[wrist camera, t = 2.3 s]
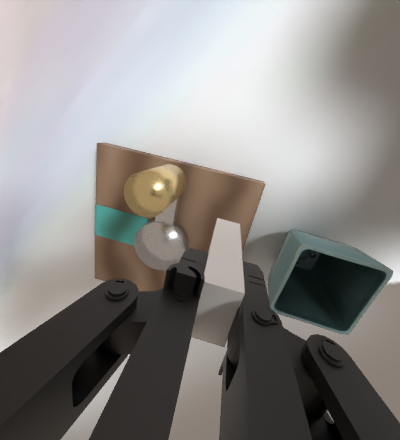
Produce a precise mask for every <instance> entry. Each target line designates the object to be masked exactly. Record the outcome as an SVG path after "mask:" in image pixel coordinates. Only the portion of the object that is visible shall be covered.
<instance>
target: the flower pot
mask: <svg viewBox="0 0 400 440" xmlns="http://www.w3.org/2000/svg"><path fill="white" fill-rule="evenodd" d="M311 254H315V255H314V256H313V257H311ZM297 260H298V262H297ZM296 262H297V263H296ZM392 274H393V271H392V270H391V269H389V268H388V267H386V266H385V265H383V264H381V263H380V262H378V261H376V260H375V259H373V258H371V257H370V256H368V255H366V254H365V253H363V252H361V251H360V250H358V249H356V248H353V247H351V246H348V245H345V244H342V243H339V242H335V241H332V240H328V239H324V238H321V237H317V236H314V235H311V234H307V233H304V232H301V231H297V230H290V231H289V232H288V234H287V236H286V239H285V241H284V243H283V245H282V248H281V250H280V252H279V254H278V256H277V259H276V261H275V263H274V265H273V267H272V269H271V272H270V275H269V304H270V308H271V309H272V310H273V311H274V312H275V313H277V314H280V315H284V316H287V317H290V318H293V319H297V320H300V321H303V322H306V323H309V324H312V325H315V326H318V327H321V328H324V329H327V330H330V331H333V332H336V333H339V334H346V335H348V334H349V333H350V332H351V331H352V330H353V328H354V327H355V326H356V324H357V323H358V322H359V320H360V318H361V317H362V316H363V314H364V313H365V311H366V310H367V309H368V308H369V306H370V305H371V303H372V302H373V301H374V299H375V298H376V297H377V295H378V294H379V292H380V291H381V290H382V288H383V287H384V286H385V285H386V284H387V282H388V281H389V280H390V278H391V277H392Z"/></svg>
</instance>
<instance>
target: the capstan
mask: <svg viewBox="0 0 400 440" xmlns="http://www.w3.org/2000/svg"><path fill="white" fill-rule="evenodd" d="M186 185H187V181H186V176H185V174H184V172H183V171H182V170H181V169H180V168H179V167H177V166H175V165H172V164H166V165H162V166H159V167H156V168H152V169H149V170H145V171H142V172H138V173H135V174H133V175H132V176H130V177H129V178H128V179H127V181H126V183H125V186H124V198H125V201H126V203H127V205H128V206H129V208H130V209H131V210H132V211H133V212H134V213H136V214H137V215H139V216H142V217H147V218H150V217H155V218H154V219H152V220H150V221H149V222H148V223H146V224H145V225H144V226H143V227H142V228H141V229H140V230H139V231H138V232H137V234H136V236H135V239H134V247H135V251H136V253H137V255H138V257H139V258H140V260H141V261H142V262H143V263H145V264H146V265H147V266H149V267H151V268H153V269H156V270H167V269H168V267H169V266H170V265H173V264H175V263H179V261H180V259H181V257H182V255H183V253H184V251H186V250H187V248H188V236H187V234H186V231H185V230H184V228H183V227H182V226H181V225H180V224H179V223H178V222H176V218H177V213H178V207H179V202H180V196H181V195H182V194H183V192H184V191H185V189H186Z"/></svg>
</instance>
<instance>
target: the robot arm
mask: <svg viewBox="0 0 400 440" xmlns="http://www.w3.org/2000/svg"><path fill="white" fill-rule="evenodd" d="M191 337H193V338H196V339H200V340H203V341H206V342H210V343H213V344H216V345H219V346H223V347H224V346H225V344H226V341H227V339H228V345H227V352H226V354H225V357H224V359H223V362H222V364H221V367H220V370H219V374H218V375H222V372H223V380H222V397H221V416H220V434H219V440H400V423H399V422H398V420H397V419H396V418H395V416H394V415H393V414H392V412H391V411H390V410H389V408H388V407H387V406H386V404H385V403H384V402H383V400H382V399H381V397H380V396H379V395H378V394H377V392H376V391H375V389H374V388H373V387H372V385H371V384H370V383H369V381H368V380H367V379H366V377H365V376H364V375H363V373H362V372H361V371H360V369H359V368H358V367H357V365H356V364H355V362H354V361H353V360H352V358H351V357H350V356H349V355H348V354H347V352H346V351H345V350H344V349H343V348H342V347H340V346H339V345H338V344H337V343H336V342H334V341H333V340H331V339H329V338H327V337H325V336H322V335H318V334H316V335H311V336H310V337H309V338H308V340H307V341H305V340H304V339H301V338H300V337H298V336H296V335H295V334H292V333H291V332H289V331H288V330H286V329H285V328H284V327H283V326H282V322H281V320H280V318H279V316H278V315H277V314H276V313H275V312H274V311H273V310H272V309H271V308H270V304H269V299H268V295H267V290H266V287H265V281H264V277H263V272H262V271H261V270H260V268H259V267H258V266H257V265H254V264H250V263H247V262H243V259H242V245H241V230H240V224H239V223H235V222H231V221H227V220H223V219H219V218H217V221H216V225H215V229H214V232H213V236H212V240H211V244H210V247H209V251H208V252H204V251H200V250H197V249H193V248H189V249H187V250H186V251H184V253H183V255H182V257H181V259H180V261H179V263H175V264H173V265H170V266H169V267H168V269H167V271H166V276H165V282H164V287H163V289H160V290H157V291H138V288H137V286H136V284H135V283H133V282H132V281H130V280H127V279H118V278H117V279H112V280H108V281H106V282H104V283H102V284H100V285H99V286H97V287H96V288H94V289H93V290H92V291H90V292H89V293H87V294H86V295H84V296H83V297H81V298H80V299H78V300H77V301H75V302H74V303H72V304H71V305H70V306H68V307H67V308H65V309H64V310H62V311H61V312H59V313H58V314H56V315H55V316H53V317H52V318H50V319H49V320H48V321H46V322H45V323H43V324H42V325H40V326H39V327H37V328H36V329H34V330H33V331H31V332H30V333H28V334H27V335H25V336H24V337H23V338H21V339H20V340H18V341H17V342H15V343H14V344H12V345H11V346H9V347H8V348H6V349H5V350H3V351H2V352H1V353H0V440H60V439H61V438H62V437H63V436H64V434H65V433H66V432H67V431H68V429H69V428H70V427H71V426H72V424H73V423H74V422H75V421H76V419H77V418H78V417H79V416H80V414H81V413H82V412H83V411H84V409H85V408H86V407H87V406H88V404H89V403H90V402H91V401H92V399H93V398H94V397H95V396H96V395H97V393H98V392H99V391H100V389H101V388H102V387H103V386H104V384H105V383H106V382H107V381H108V380H109V378H110V377H111V375H112V374H113V373H114V372H115V371H116V370H117V368H118V367H119V366H120V365H121V363H122V362H123V361H124V359H125V358H126V357H127V356H128V354H131V355H130V357H129V359H128V361H127V363H126V365H125V367H124V369H123V372H122V373H121V376H120V377H119V379H118V381H117V384H116V385H115V387H114V390H113V392H112V394H111V396H110V398H109V400H108V402H107V404H106V406H105V408H104V410H103V412H102V414H101V416H100V418H99V420H98V422H97V424H96V426H95V428H94V430H93V432H92V434H91V437H90V438H89V440H168V438H169V434H170V429H171V425H172V421H173V416H174V411H175V407H176V402H177V398H178V394H179V389H180V384H181V380H182V375H183V371H184V367H185V362H186V358H187V353H188V349H189V344H190V339H191ZM327 410H328V411H329V413H330V415H331V417H332V418H333V420H334V422H333V421H332V420H331V418H330V416H329V415H328V413H327Z"/></svg>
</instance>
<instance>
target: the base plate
mask: <svg viewBox="0 0 400 440" xmlns="http://www.w3.org/2000/svg"><path fill="white" fill-rule="evenodd" d="M166 164H172V165H175V166H177V167H179V168H180V169H181V170H182V171H183V172H184V174H185V176H186V181H187V185H186V189H185V191H184V192H183V194H182V195H181V196H180V202H179V207H178V213H177V218H176V222H178V223H179V224H180V225H181V226H182V227H183V228H184V230H185V231H186V234H187V236H188V248H187V249H189V248H193V249H197V250H200V251H204V252H208V251H209V247H210V244H211V240H212V236H213V232H214V229H215V225H216V221H217V218H219V219H223V220H227V221H231V222H235V223H239V224H240V230H241V245H242V251H243V248H244V245H245V242H246V239H247V236H248V234H249V231H250V228H251V225H252V222H253V219H254V216H255V213H256V210H257V207H258V204H259V201H260V199H261V196H262V193H263V190H264V187H265V183H264V182H263V181H259V180H255V179H251V178H247V177H243V176H239V175H235V174H230V173H226V172H222V171H218V170H214V169H210V168H206V167H202V166H198V165H194V164H190V163H186V162H182V161H178V160H174V159H169V158H165V157H161V156H157V155H153V154H149V153H145V152H141V151H137V150H133V149H129V148H125V147H121V146H117V145H113V144H108V143H97V173H96V206H95V278H96V279H100V280H103V281H108V280H112V279H117V278H118V279H127V280H130V281H132V282H133V283H135V284H136V286H137V288H138V291H157V290H160V289H163V287H164V282H165V276H166V271H167V270H156V269H153V268H151V267H149V266H147V265H146V264H145V263H143V262H142V261H141V260H140V258H139V257H138V255H137V253H136V251H135V247H134V239H135V236H136V234H137V232H138V231H139V230H140V229H141V228H142V227H143V226H144V225H145V224H146V223H148V222H149V221H150V220H152V219H154V218H155V217H150V218H147V217H142V216H139V215H137V214H136V213H134V212H133V211H132V210H131V209H130V208H129V206H128V205H127V203H126V201H125V198H124V186H125V183H126V181H127V179H128V178H129V177H130V176H132V175H133V174H135V173H138V172H142V171H145V170H149V169H152V168H156V167H159V166H162V165H166Z"/></svg>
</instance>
